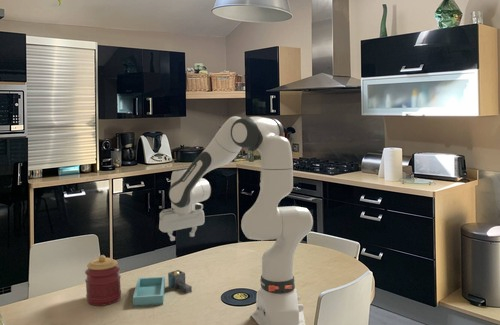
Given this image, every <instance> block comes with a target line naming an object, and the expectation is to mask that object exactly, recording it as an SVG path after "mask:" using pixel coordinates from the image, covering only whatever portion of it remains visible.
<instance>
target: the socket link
mask: <svg viewBox="0 0 500 325" xmlns="http://www.w3.org/2000/svg"><path fill="white" fill-rule="evenodd" d="M176 271H178V272H179V273H180V274H177V275H174V274H173V273H174V272H176ZM167 278H168V279H167V281H168V282H167V284H168V288H170V289H172V290H174V291H177V290H178V291H180V292H183V293H184V294H189V293H192V292H193V291H192V288H193V287H192V285H189V284H187V283H186V272H185V271H182V270H180V269H178V270H177V269H176V270H174V271H173V270H172V271H171V272H167Z"/></svg>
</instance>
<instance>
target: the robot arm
mask: <svg viewBox="0 0 500 325" xmlns="http://www.w3.org/2000/svg"><path fill="white" fill-rule="evenodd" d="M284 131H285V130H284V126H283V124H282V123H281V122H280V121H279V120H278V119H276V118H273V117H262V116H250V117H249V116H248V117H247V116H243V117H241V116H237V115H235V116H231V117H229V118H227V119H226V121H225V122H224V123H223V124H222V125H221V126H220V128H219V129H218V131H217V132H216V133H215V135H214V137H213V138H212V139H211V141H210V142H209V143H208V145H207V146H206V147H205V148H204V150H202V152H200V153H199V154H198V156H197V157H195V159H194V160H193V161H192V163H191V164H190V165H189V166H188V167H186V168H178V169H174V170H173V171H172V173H171V178H170V187H169V189H168V190H169V191H168V197H169V200H170V203H171V208H167V209H162V210H161V211H160V212H159V224H158V230H160V231H161V232H162V233H167V235H168V236H169V240H170V241H171V242H174V241H176V236H174V235H173V233H174V232H175V231H179V230H183V229H188V228H189V229H190V228H191V231H190V232H189V237H191V238H194V237H195V236H196V234H195V233H196V231H197V230H198V227H199V226H203V225H204V224H205V220H206V219H205V212H204V210H203V209H204V204H202V203H201V202H204V201H207V200H208V199H209V198H210V197H211V194H212V186H211V183H210V181H208V180H207V179H206V178H204V176H205V175H206V174H207V173H210V172H211V171H212V170H215V169H218V168H221V167H224V166H226V165H228V164H230V163H232V161H233V160H234V159H235V158H236V157H237V156H238V155H239V153H241V152H240V151H241V150H242V148H243V149H246V150H249V151H250V152H255V151H258V153H259V155H260V159H261V160H260V162H261V163H260V190H259V194H258V196H257V198H256V201H255V202H254V203H253V205H252V206H251V207H250V208H249V209H248V210H247V211H245V213H244V214H243V216H242V219H241V224H240V227H241V230H242V232H243V234H244V235H245V236H244V237H246V238H247V239H249V240H255V241H256V240H257V241H265V240H266V241H269V240H275V242H274V244H273V245H272V246H270V247H269V248H267V249H266V250H265V251H264V252H263V253H262V257H261V276H260V289H259V290H258V291H257V292H256V301H255V303H256V305H255V310H254V311H253V310H252V311H251V317H252V319H253V320H254V321H255V322H256V324H258V325H306V320H305V314H304V304H303V303H299V301H301V296H298V290H297V288H295V287H296V282H295V281H296V280H295V276H294V263H295V262H294V261H295V255H296V250H297V249H298V247H299V245H300V244H301V242H302V240H303V239H304V238H305V237H306V236H307V235H308V234H310V232H311V230H312V229H313V225H314V217H313V216H312V213H311V211H310V210H309V209H308V208H307V207H303V206H302V207H301V206H295V205H292V206H291V205H290V206H279V203H280V202H281V200H282V199H284V198H285V197H287V196H288V195H290V194H291V192H293V188H294V165H293V164H294V162H293V153H292V146H291V142H290V140H289V139H288V138H286V137H285V136H284V133H285V132H284Z"/></svg>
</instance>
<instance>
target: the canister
mask: <svg viewBox="0 0 500 325" xmlns="http://www.w3.org/2000/svg"><path fill="white" fill-rule="evenodd" d="M118 264H119V263H118V261H117V260H115V259H113V258H111V257H106V256H105V255H104V254H102V255H99V256H98V258H96V259H92V260H91V262H89V263H88V264H87V265H86V266H87V268H86V270H85V271H84V274H85V275H86V278H85V285H86V286H85V288H86V289H85V290H86V294H85V296H86V302H87V303H88V304H89V305H92V306H106V305H111V304H113V303H114V304H115V303H117V302H118V301H119V300H120V299H121V295H122V290H121V275H120V270H121V267H120V266H119V265H118Z"/></svg>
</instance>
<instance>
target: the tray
mask: <svg viewBox="0 0 500 325" xmlns="http://www.w3.org/2000/svg"><path fill="white" fill-rule="evenodd" d="M165 289H166V277H165V276H154V277H153V276H152V277H151V276H150V277H138V278H137V280H136V284H135V287H134V292H133V296H132V306H133V307H135V308H136V307H148V306H162V305H164V299H165V298H164V297H165Z"/></svg>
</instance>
